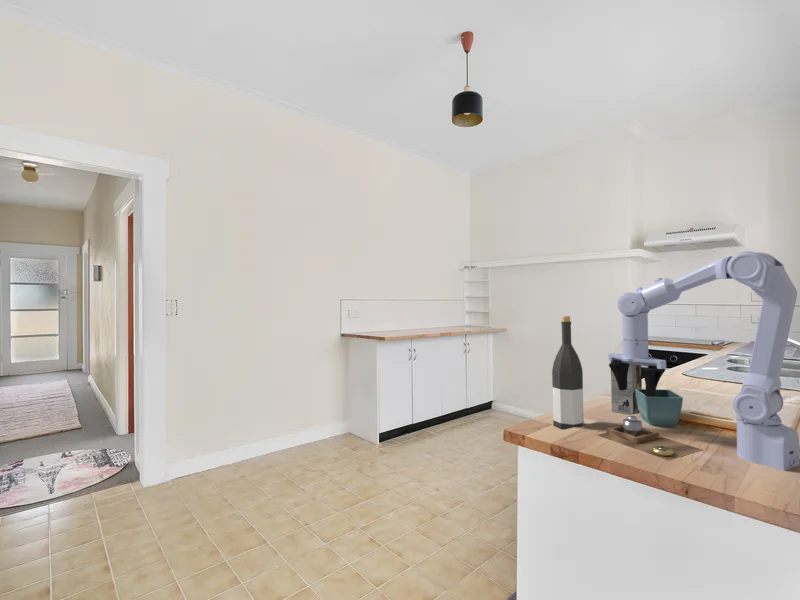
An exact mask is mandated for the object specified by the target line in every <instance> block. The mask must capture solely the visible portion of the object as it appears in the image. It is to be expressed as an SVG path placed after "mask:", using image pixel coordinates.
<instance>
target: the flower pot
mask: <svg viewBox="0 0 800 600" xmlns="http://www.w3.org/2000/svg"><path fill="white" fill-rule="evenodd" d="M635 390H636V398H637V405H638V409H639V411H638V413H640V416H641V418H642V420H643V421H645V422H646V423H647V424H649V425H650V426H653V427H654V426H659V427H662V426H663V427H675V426H676V425H677V423H678V422H679V420H680V418H681V414H682V409H683V399H684V396H682V395H680V394H678V393H677V392H675V391H673V390H671V389H660V388H659V389H657V388H656V391H655V395H654V396H651V397H648V396H646V388H642V389H635Z"/></svg>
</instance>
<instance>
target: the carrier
mask: <svg viewBox="0 0 800 600" xmlns="http://www.w3.org/2000/svg"><path fill="white" fill-rule="evenodd" d="M598 436H599V437H601V438H603V439H607V440H609V441H612V442H615V443H618V444H620V445H623V446H625V447H626V446H627V447H629V448H632V449H634V450H637V451H640V452H644V453H646V454H649V455H651V456H655V457H658V458H661V459H662V460H663V459H664V460H666V461H671V460H676V459H678V458H682V457H686V456H689V455H692V454H695V453H699V452H701V451H704V449H702V448H699V447H695V446H692V445H689V444H686V443H682V442H679V441H676V440H673V439H669V438H667V437H662V436H660V432H657V431H655V430H651V429H647V428H644V427H642V435H641V436H637V437H635V436H631V435H628V434H625V433H623V424H622V425H618V426H613V427H609V428H606V432H603V433H599V434H597V437H598ZM653 446H664V447H668V448H671V449H672V450H673V456H671V457H662V456H658V455H655V454H653V453H652V447H653Z"/></svg>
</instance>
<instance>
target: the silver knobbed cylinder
mask: <svg viewBox="0 0 800 600" xmlns="http://www.w3.org/2000/svg"><path fill="white" fill-rule="evenodd" d="M642 423H643V421H641V420H639V419H638V418H637V416H635V415H627V418H624V419H623V420H622V425H623V433H625V434H628V435H631V436H635V437H637V436H641V435H642V428H643V425H642Z"/></svg>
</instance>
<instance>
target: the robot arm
mask: <svg viewBox="0 0 800 600" xmlns="http://www.w3.org/2000/svg"><path fill="white" fill-rule="evenodd" d="M720 279H721V280H723V279H724V280H728V279H729V280H731V279H732V280H733V279H734V280H735V281H736V282H738V283H741V284H742V285H745V286H747V287H749V288H750V289H751V290H753V292H754V293H755V294H757V295H758V296H759V297H760V299H762V303H761V308H760V314H759V317H758V323H757V328H756V333H755V338H754V342H753V347H752V353H751V358H750V362H749V367H748V373H747V374H746V377H745V378H744V380H743V382H742V384H741V385H742V386H741V390H740V392H738V394H737V395H736V396H735V397H734V398H733V400H732V408H733V411H734V412H735V414H736V455H737V457H738V458H740V459H742V460H744V461H747V462H750V463H752V464H753V463H754V464H757V465H758V464H759V465H762V466H766V467H769V468H773V469H777V470H780V471H787V470H790V469H793V468H794V467H797V466H800V437H799V433H798V431H797V429H795V428H793V427H790V426H787V425H785V424H783V422H782V421H783V420H782V419H781V418H780V416H779V414H778V413H779V412H780V411H781V410H782V409H783V407H784V398H783V396H782V393H781V388H782V382H781V379H780V376H781V372H782V367H783V363H784V359H785V355H786V349H787V344H788V340H789V335H790V331H791V326H792V325H791V324H792V321H793V317H794V311H795V307H796V302H797V297H798V290H797V288H796V286H795V285H794V283H793V282H792V280H791V278H790V276H789V275H788V273H787V271H786V269H785V265H784V263H782V262H781V261H780V260H778V259H777V258H776V257H775V256H773V255H771V254H769V253H766V252H762V251H761V252H757V251H756V252H755V251H749V250H745V251H741V252H738V253H736V254H734V255H733V256H732V255H729V256H726V257H723V258H719V259H717V260H715V261H713V262H710V263H708V264H706V265H704V266H702V267H700V268H698V269H695V270H693V271H692V272H691V271H690V272H689V273H687V274H684V275H682V276H680V277H679V278H676V279H671V278H668V277H664V278H661V277H660V278H656V279H655V280H654V282H653V283H652V284H648V285H646V286H644V287H640V286H639V287H637V288H636V289H635V290H636V291H635V292H632V291H631V292H630V291H629V292H625V293H624V294H623V295H621V296H620V297H619V298H618V300H617V308H618V310H619V312H620V313H621V314H622V315H621V317H622V318H621V327H622V333H621V335H622V353H614V352H613V353H608V362H610V363H608V367H609V368H610V371H611V370H612V371H613V373H614V375H615V378H616V381H617V384H618V387H619V390H627V375H628V369H629V365H630V364H635V365H641V372H642V374H643V378H644V382H645V383H644V384H645V389H646V396H648V397H651V396H654V395H655V391H656V389H657V388H658V384H659V381H660V380H661V378H662V376H663V374H664V373H665V371H666V369H667V360H666V359H660V358H655V357H650V356H649V321H648V320H649V319H648V316H649V313H650V312H651V310H655V309H657V308H660V307H662V306H664V305H668V304H670V303H673V302H676V301H678V300H679V298H680V296H681V294H682V293H683V292H686V291H688V290H691V289H694V288H697V287H699V286H702V285H705V284H708V283H711V282H713V281H716V280H720ZM611 361H612V363H611ZM638 362H641V363H638ZM642 366H644V368H643V367H642Z"/></svg>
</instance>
